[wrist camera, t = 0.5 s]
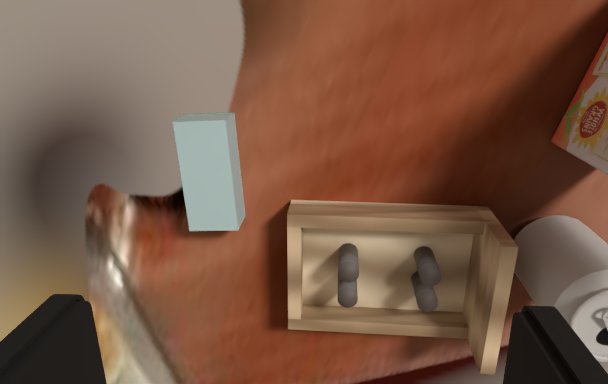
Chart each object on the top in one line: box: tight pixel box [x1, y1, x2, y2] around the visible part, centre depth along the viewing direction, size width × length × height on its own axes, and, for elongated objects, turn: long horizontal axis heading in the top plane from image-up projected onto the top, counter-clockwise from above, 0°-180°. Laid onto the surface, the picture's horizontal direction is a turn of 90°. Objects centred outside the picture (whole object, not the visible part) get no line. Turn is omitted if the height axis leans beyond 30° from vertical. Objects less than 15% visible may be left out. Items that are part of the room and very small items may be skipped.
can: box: [514, 215, 608, 362], centre depth 38 cm, size 8×8×12 cm
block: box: [173, 112, 245, 231], centre depth 42 cm, size 10×4×4 cm, turn 3°
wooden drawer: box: [287, 200, 519, 374], centre depth 41 cm, size 12×18×8 cm, turn 90°
